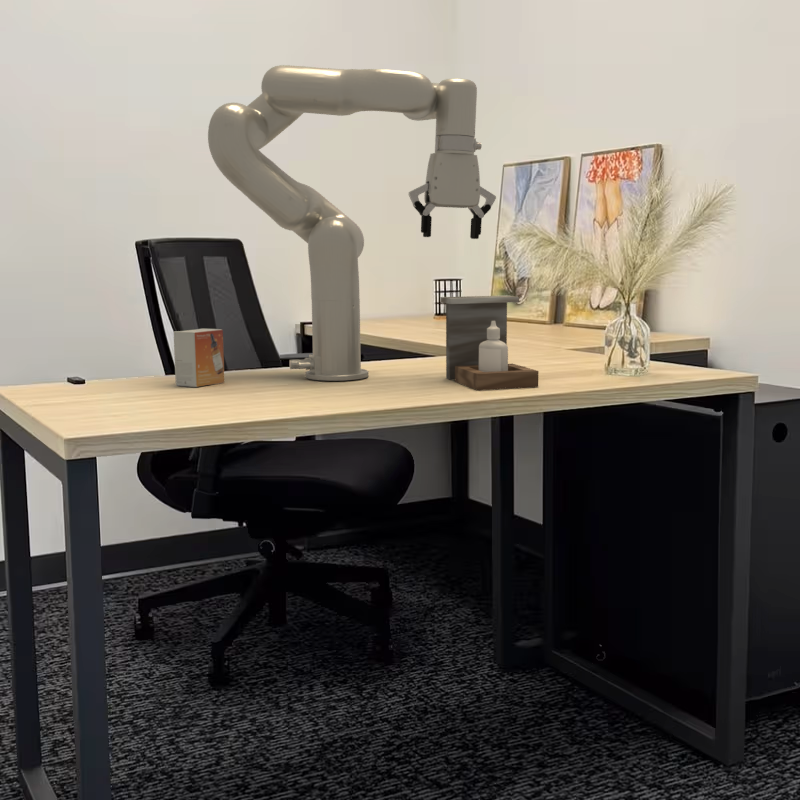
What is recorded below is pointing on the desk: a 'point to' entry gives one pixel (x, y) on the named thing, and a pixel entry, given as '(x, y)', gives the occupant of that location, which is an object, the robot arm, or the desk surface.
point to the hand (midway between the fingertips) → (450, 237)
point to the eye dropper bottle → (493, 352)
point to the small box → (199, 357)
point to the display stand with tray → (465, 336)
